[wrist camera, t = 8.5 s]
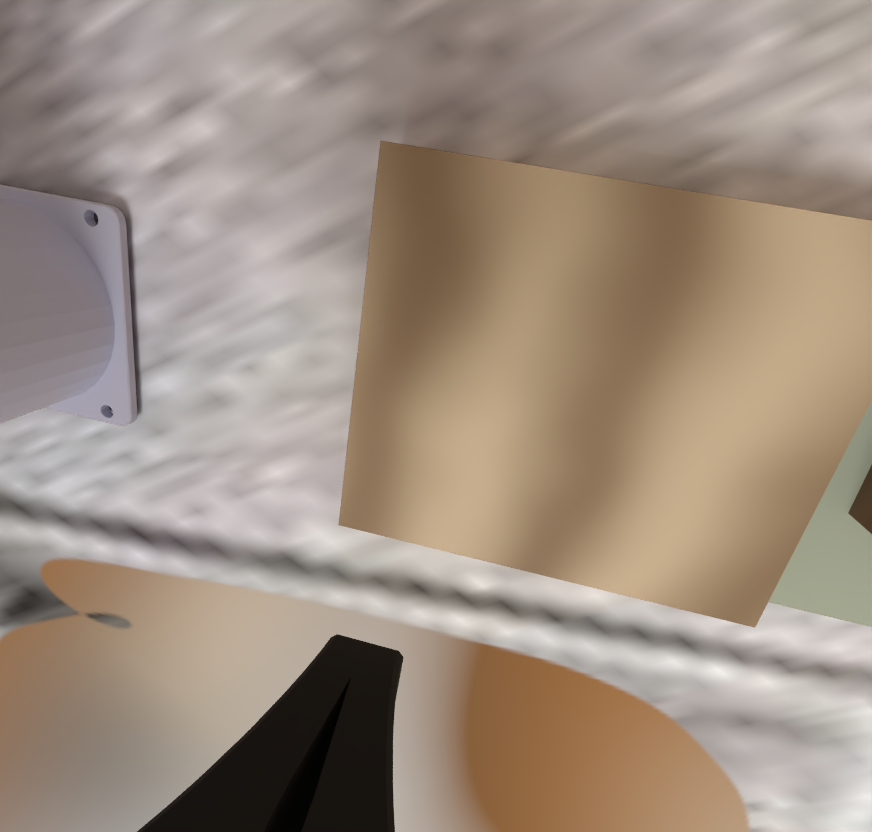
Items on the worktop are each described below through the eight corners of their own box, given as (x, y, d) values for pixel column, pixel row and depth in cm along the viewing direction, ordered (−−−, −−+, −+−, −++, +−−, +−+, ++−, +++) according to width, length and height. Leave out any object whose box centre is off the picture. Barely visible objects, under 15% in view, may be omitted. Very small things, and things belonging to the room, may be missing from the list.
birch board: (356, 497, 19) (338, 525, 18) (398, 152, 15) (380, 140, 13) (732, 586, 18) (755, 627, 16) (898, 233, 14) (956, 234, 12)
